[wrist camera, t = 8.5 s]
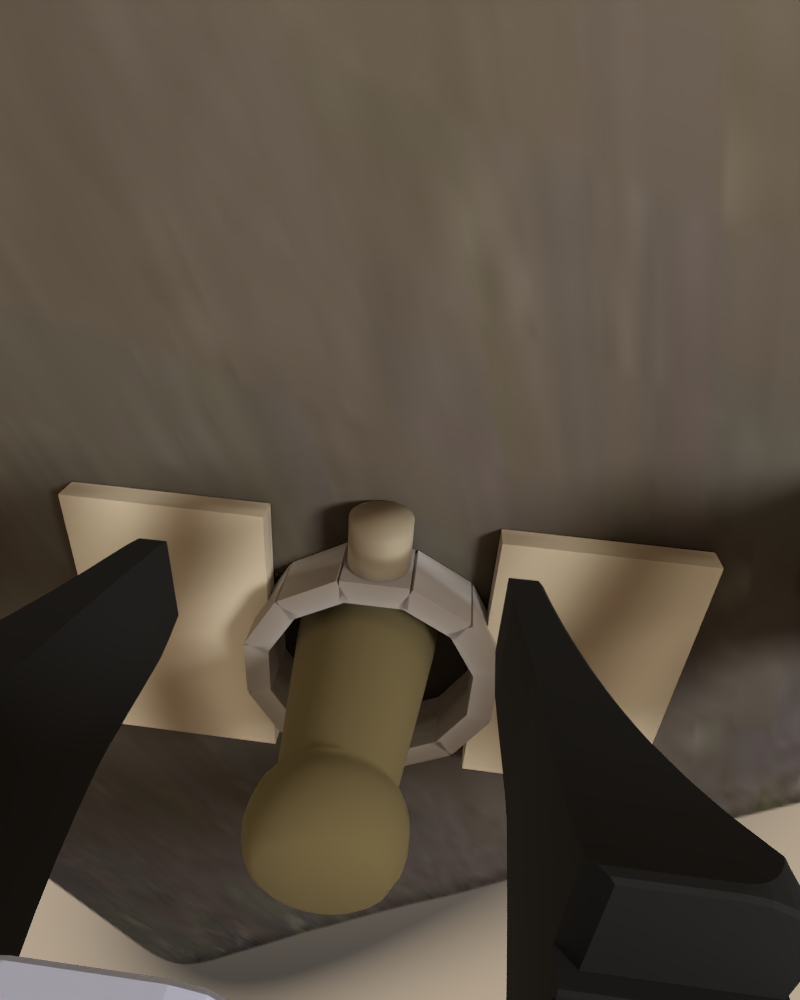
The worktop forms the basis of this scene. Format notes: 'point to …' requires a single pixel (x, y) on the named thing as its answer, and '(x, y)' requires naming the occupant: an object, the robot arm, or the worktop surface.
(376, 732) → the cork
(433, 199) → the worktop surface
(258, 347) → the worktop surface
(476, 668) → the hinge base
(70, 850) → the worktop surface
